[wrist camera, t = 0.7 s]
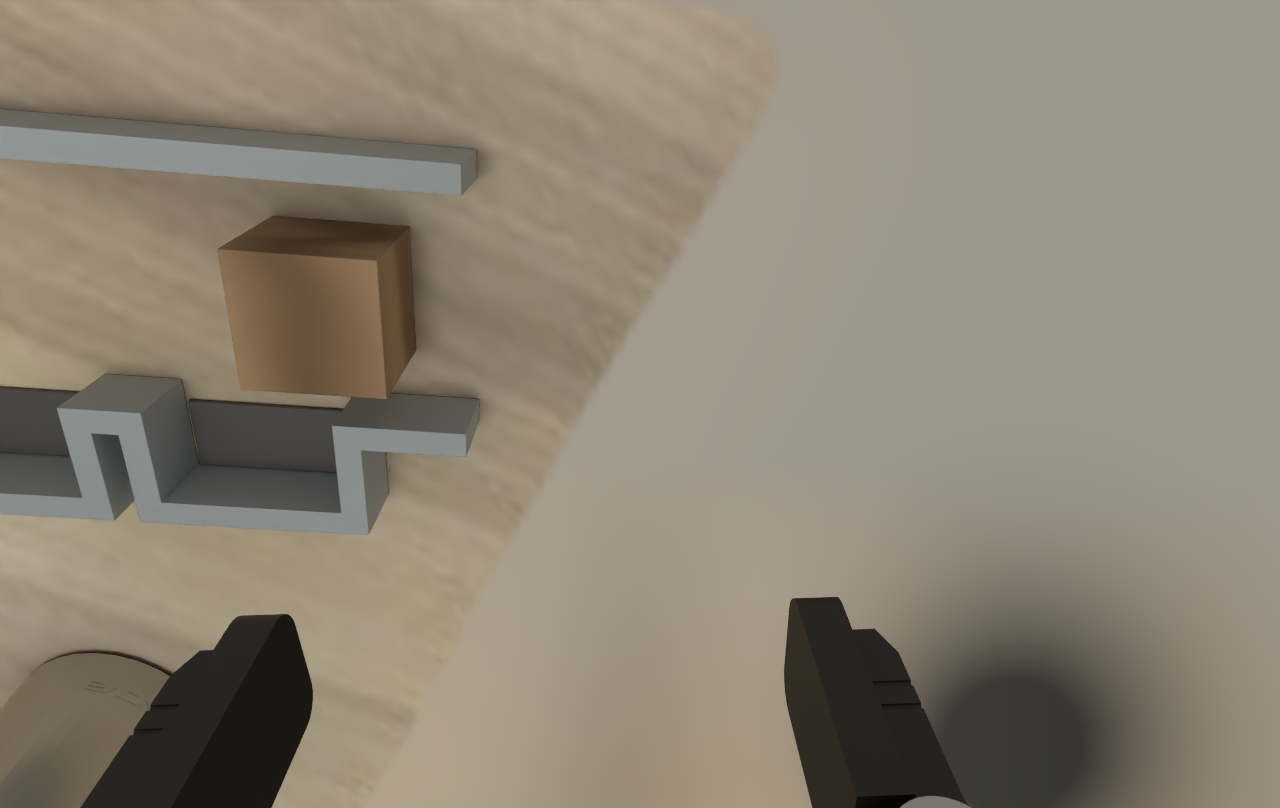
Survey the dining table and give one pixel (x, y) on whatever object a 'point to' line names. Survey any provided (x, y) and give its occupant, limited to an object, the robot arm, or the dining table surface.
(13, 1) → the dining table surface
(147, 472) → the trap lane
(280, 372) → the walnut block
